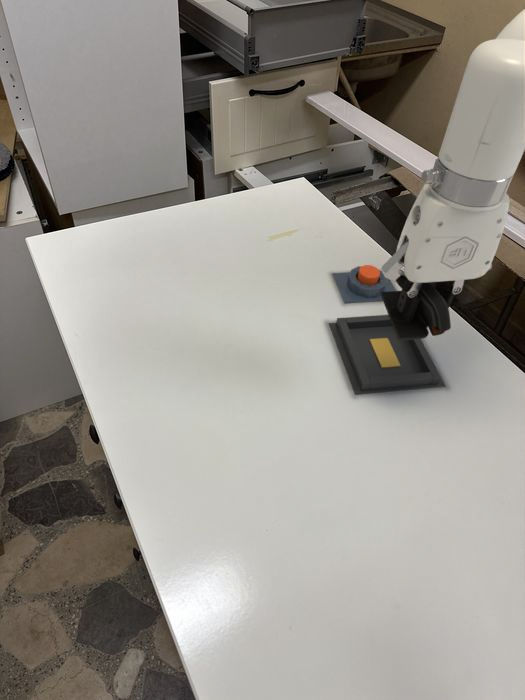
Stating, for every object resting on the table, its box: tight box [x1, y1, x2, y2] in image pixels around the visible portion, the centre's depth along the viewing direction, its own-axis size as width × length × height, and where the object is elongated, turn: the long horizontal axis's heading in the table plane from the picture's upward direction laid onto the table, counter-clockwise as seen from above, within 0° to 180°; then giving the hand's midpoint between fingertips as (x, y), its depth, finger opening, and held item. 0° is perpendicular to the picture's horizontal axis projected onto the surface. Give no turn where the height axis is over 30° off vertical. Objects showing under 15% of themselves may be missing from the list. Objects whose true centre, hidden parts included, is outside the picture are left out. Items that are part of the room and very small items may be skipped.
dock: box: [328, 314, 447, 396], centre depth 80 cm, size 14×15×2 cm
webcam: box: [381, 282, 452, 340], centre depth 65 cm, size 9×6×6 cm
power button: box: [357, 264, 381, 285], centre depth 90 cm, size 4×4×2 cm
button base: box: [331, 265, 397, 304], centre depth 91 cm, size 10×8×3 cm
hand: (420, 312), depth 67 cm, fingers closed on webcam, 3 cm apart
